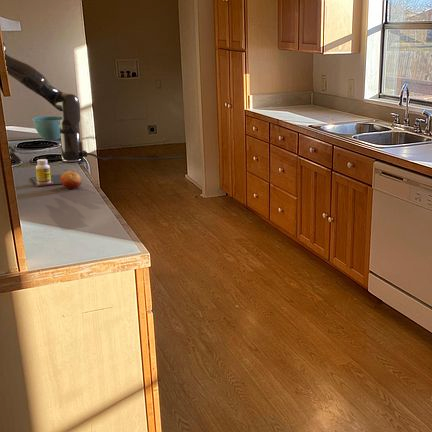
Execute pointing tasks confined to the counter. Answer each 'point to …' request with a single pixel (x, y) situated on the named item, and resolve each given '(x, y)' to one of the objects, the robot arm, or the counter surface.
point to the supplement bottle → (43, 172)
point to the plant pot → (48, 127)
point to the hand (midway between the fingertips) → (15, 163)
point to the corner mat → (54, 181)
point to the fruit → (70, 180)
